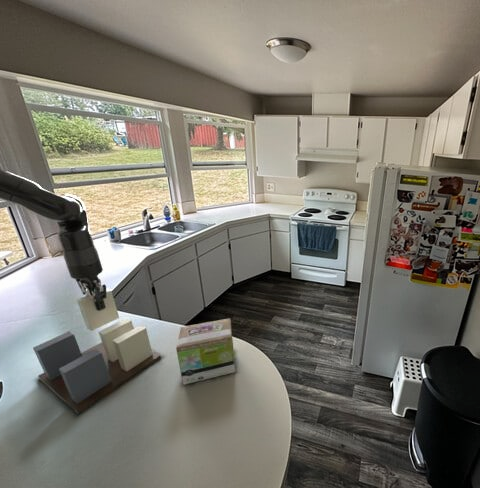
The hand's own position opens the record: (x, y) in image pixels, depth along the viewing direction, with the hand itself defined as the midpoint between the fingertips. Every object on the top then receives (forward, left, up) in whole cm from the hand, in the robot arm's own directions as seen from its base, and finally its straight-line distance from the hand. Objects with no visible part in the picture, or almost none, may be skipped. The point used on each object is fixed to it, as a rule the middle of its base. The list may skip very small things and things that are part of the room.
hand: (98, 307), depth 83 cm
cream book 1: (0, 0, -6) cm, 6 cm away
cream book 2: (0, -8, -15) cm, 17 cm away
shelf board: (-6, -8, -17) cm, 19 cm away
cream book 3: (0, -16, -15) cm, 22 cm away
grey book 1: (-12, 0, -15) cm, 19 cm away
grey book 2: (-12, -16, -15) cm, 25 cm away
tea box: (+10, -38, -17) cm, 43 cm away
